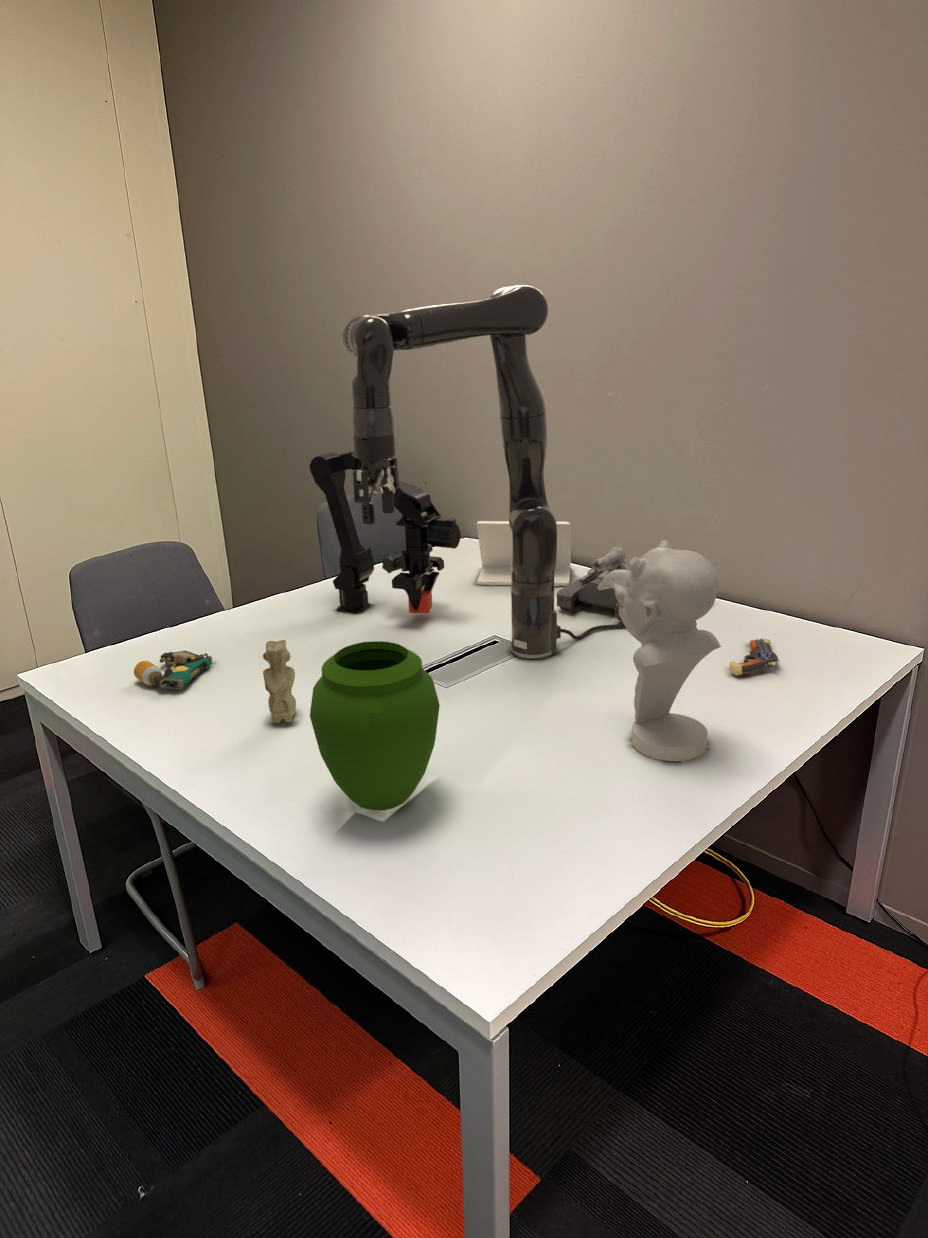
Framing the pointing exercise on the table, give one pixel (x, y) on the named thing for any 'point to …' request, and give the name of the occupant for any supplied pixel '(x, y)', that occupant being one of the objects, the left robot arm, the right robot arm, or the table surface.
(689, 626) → the bust sculpture
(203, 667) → the spray gun
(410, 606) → the brick
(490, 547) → the tablet stand
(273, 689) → the sculpture
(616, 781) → the table surface
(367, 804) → the vase
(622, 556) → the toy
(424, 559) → the left robot arm
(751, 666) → the toy gun
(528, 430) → the right robot arm
